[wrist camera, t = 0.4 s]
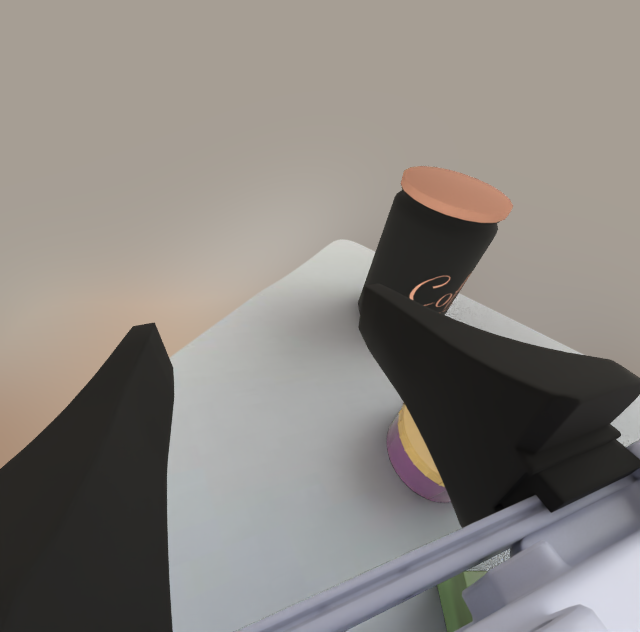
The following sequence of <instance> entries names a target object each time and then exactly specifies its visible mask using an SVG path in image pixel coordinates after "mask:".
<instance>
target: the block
mask: <svg viewBox="0 0 640 632" xmlns="http://www.w3.org/2000/svg"><path fill="white" fill-rule="evenodd" d="M487 572H488V571H464V572H462V573H460V574H458V575H456V576H454V577H452V578H450V579H448V580H446V581H444V582H442V583H440V584H438V585H437V587H438V591H439V596H440V600H441V605H442V609H443V614H444V619H445V623H446V628H447V632H454V631H456V630H458V629H459V628H461V627H463V626H465V625H467V624H468V623H470V622H472V621H473V618H472V614H471V612H470V610H469V608H468V607H467V605H466V603H465V601H464V599H463V597H462V591H463V590H465V589H466V588H468V587H469V586H471V585H472V584H473V583H475V582H476V581H478V580H479V579H480V578H482V577H483V576H484V575H485V574H486V573H487Z"/></svg>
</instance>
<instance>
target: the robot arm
mask: <svg viewBox="0 0 640 632" xmlns="http://www.w3.org/2000/svg"><path fill="white" fill-rule="evenodd" d="M359 330H360V332H361V334H362V337H363V339H364V341H365V343H366V345H367V347H368V349H369V350H370V352H371V354H372V355H373V357H374V358H375V360H376V361H377V363H378V364H379V366H380V367H381V369H382V370H383V372H384V373H385V374H386V376H387V377H388V379H389V380H390V382H391V383H392V385H393V386H394V388H395V389H396V391H397V392H398V394H399V395H400V397H401V399H402V400H403V402H404V403H405V405H406V407H407V409H408V411H409V413H410V415H411V417H412V418H413V420H414V422H415V424H416V426H417V428H418V430H419V432H420V434H421V436H422V438H423V440H424V442H425V444H426V446H427V448H428V450H429V452H430V455H431V457H432V459H433V461H434V463H435V466H436V468H437V470H438V472H439V474H440V476H441V479H442V481H443V483H444V486H445V488H446V491H447V493H448V495H449V498H450V500H451V503H452V505H453V507H454V510H455V513H456V515H457V518H458V520H459V523H460V525H461V526H462V528H461V529H459V530H457V531H455V532H452V533H450V534H448V535H446V536H444V537H441V538H439V539H437V540H435V541H433V542H430V543H428V544H426V545H424V546H422V547H419V548H417V549H415V550H413V551H411V552H408V553H406V554H404V555H402V556H400V557H397V558H395V559H393V560H391V561H389V562H386V563H384V564H382V565H380V566H377V567H375V568H373V569H371V570H369V571H366V572H364V573H362V574H360V575H358V576H355V577H353V578H351V579H349V580H347V581H344V582H342V583H340V584H338V585H336V586H333V587H331V588H329V589H327V590H325V591H322V592H320V593H318V594H316V595H314V596H311V597H309V598H307V599H305V600H303V601H300V602H298V603H296V604H294V605H292V606H289V607H287V608H285V609H283V610H280V611H278V612H276V613H274V614H272V615H269V616H267V617H265V618H263V619H261V620H258V621H256V622H254V623H252V624H250V625H247V626H245V627H243V628H241V629H239V630H236V631H234V632H344V631H346V630H348V629H350V628H352V627H354V626H356V625H358V624H360V623H362V622H364V621H366V620H368V619H370V618H372V617H374V616H376V615H378V614H380V613H382V612H384V611H386V610H388V609H390V608H392V607H394V606H396V605H398V604H400V603H402V602H404V601H406V600H408V599H410V598H412V597H414V596H416V595H418V594H420V593H422V592H424V591H426V590H428V589H430V588H432V587H434V586H436V585H438V584H440V583H442V582H444V581H446V580H448V579H450V578H452V577H454V576H456V575H458V574H460V573H462V572H464V571H466V570H468V569H470V568H472V567H474V566H476V565H478V564H480V563H482V562H484V561H486V560H488V559H490V558H492V557H494V556H496V555H498V554H500V553H502V552H504V551H506V550H508V549H510V548H511V549H510V557H511V558H509V559H508V560H506V561H504V562H502V563H501V564H499V565H497V566H495V567H494V568H492V569H490V570H489V571H488V572H487V573H486V574H485V575H484V576H483V577H482V578H480V579H479V580H478V581H476V582H475V583H473V584H472V585H471V586H469V587H468V588H466V589H465V590H463V591H462V597H463V599H464V601H465V603H466V605H467V607H468V608H469V610H470V612H471V614H472V618H473V621H472V622H470V623H468V624H467V625H465V626H463V627H461V628H459V629H458V630H456V631H454V632H640V440H638V441H636V442H634V443H632V444H631V445H629V446H628V447H624V446H623V445H622V444H621V443H620V442H618V441H617V440H616V439H617V438H619V437H620V436H621V433H620V432H619V431H618V430H617V429H616V428H614V427H613V426H612V425H611V424H610V423H611V422H612V421H613V420H614V419H615V418H616V417H618V416H619V415H620V414H621V413H622V412H623V411H624V410H625V409H626V408H627V407H628V406H629V405H630V404H631V403H632V402H633V401H634V400H635V399H636V398H637V397H638V396H639V394H640V378H639V377H638V376H636V375H635V374H633V373H631V372H630V371H629V370H627V369H626V368H624V367H622V366H621V365H619V364H618V363H616V362H614V361H612V360H609V359H603V358H597V357H591V356H585V355H579V354H573V353H567V352H562V351H558V350H553V349H548V348H544V347H539V346H535V345H531V344H527V343H523V342H519V341H516V340H512V339H509V338H505V337H502V336H499V335H495V334H492V333H489V332H486V331H483V330H481V329H478V328H475V327H472V326H470V325H467V324H464V323H462V322H459V321H457V320H454V319H452V318H450V317H448V316H445V315H443V314H441V313H438V312H436V311H434V310H432V309H430V308H428V307H426V306H424V305H422V304H420V303H418V302H416V301H414V300H412V299H410V298H408V297H406V296H404V295H402V294H400V293H398V292H396V291H394V290H392V289H390V288H388V287H386V286H383V285H381V284H373V285H367V286H364V288H363V296H362V305H361V313H360V321H359ZM173 404H174V376H173V366H172V364H171V361H170V359H169V357H168V354H167V352H166V349H165V347H164V344H163V342H162V339H161V337H160V335H159V332H158V330H157V327H156V325H155V323H149V324H144V325H138V326H133V327H132V328H131V330H130V331H129V332H128V333H127V335H126V336H125V337H124V338H123V340H122V341H121V342H120V344H119V345H118V346H117V347H116V349H115V350H114V351H113V353H112V354H111V355H110V357H109V358H108V359H107V360H106V362H105V363H104V364H103V365H102V367H101V368H100V369H99V371H98V372H97V373H96V374H95V375H94V377H93V378H92V379H91V380H90V381H89V382H88V384H87V385H86V386H85V387H84V388H83V389H82V390H81V391H80V393H79V394H78V395H77V396H76V397H75V398H74V399H73V400H72V402H71V403H70V404H69V405H68V406H67V407H66V408H65V409H64V410H63V411H62V412H61V413H60V414H59V415H58V416H57V417H56V418H55V419H54V421H52V422H51V423H50V424H49V425H48V426H47V427H46V428H45V429H44V430H43V431H42V432H41V433H40V434H39V435H38V436H37V437H36V438H35V439H34V440H33V441H32V442H31V443H29V444H28V445H27V446H26V447H25V448H24V449H23V450H22V451H21V452H19V453H18V454H17V455H16V456H15V457H14V458H12V459H11V460H10V461H9V462H8V463H7V464H6V465H4V466H3V467H2V468H1V469H0V632H173V631H172V616H171V600H170V584H169V561H168V532H167V463H168V453H169V443H170V433H171V424H172V414H173Z"/></svg>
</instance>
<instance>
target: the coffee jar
mask: <svg viewBox="0 0 640 632" xmlns="http://www.w3.org/2000/svg"><path fill="white" fill-rule="evenodd" d="M401 186H402V191H400V192H399V193H397V195H396V196H395V198H394V201H393V204H392V207H391V210H390V213H389V215H388V218H387V221H386V224H385V227H384V230H383V233H382V235H381V238H380V241H379V244H378V247H377V250H376V253H375V255H374V258H373V261H372V264H371V267H370V270H369V273H368V275H367V278H366V281H365V284H364V286H367V285H373V284H381V285H383V286H386V287H388V288H390V289H392V290H394V291H396V292H398V293H400V294H402V295H404V296H406V297H408V298H410V299H412V300H414V301H416V302H418V303H420V304H422V305H424V306H426V307H428V308H430V309H432V310H434V311H436V312H438V313H441V314H443V315H445V313H446V312H447V310H448V309H449V307H450V305H451V304H452V302H453V301H454V299H455V298H456V296H457V295H458V293H459V291H460V290H461V288H462V287H463V285H464V284H465V282H466V281H467V279H468V277H469V276H470V274H471V273H472V271H473V270H474V268H475V267H476V265H477V263H478V262H479V260H480V259H481V257H482V256H483V254H484V253H485V251H486V249H487V248H488V246H489V245H490V243H491V242H492V240H493V238H494V237H495V235H496V233H497V230H498V226H497V223H498V222H500V221H502V220H504V219H505V218H506V217H507V216H508V215H509V213H510V212H511V210H512V208H513V205H512V203H511V201H510V199H509V198H507V197H506V196H505V195H504V194H503V193H502V192H500V191H499V190H497V189H495V188H494V187H492V186H491V185H489V184H487V183H484V182H482V181H480V180H478V179H476V178H473V177H470V176H468V175H465V174H462V173H458V172H455V171H451V170H447V169H442V168H437V167H427V166H418V167H410V168H408V169H406V170H405V171H404V173H403V177H402V181H401ZM363 288H364V287H363ZM362 296H363V290H362V293H361V296H360V299H359V302H358V306H359V312H360V313H361V305H362Z"/></svg>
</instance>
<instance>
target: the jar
mask: <svg viewBox="0 0 640 632" xmlns="http://www.w3.org/2000/svg"><path fill="white" fill-rule="evenodd" d="M398 418H399V413H398V415H397V416H396V418H395V419H394V420H393V422H392V423H391V425H390V427H389V430H388V433H387V450H388V455H389V458H390V461H391V463H392V466H393V467H394V469H395V471H396V473H397V474H398V476H399V477H400V478H401V479H402V481H403V482H404V483H405V484H406V485H407V486H408V487H409V488H410V489H412V490H413V491H414V492H415V493H417V494H419V495H420V496H422V497H424V498H426V499H429V500H432V501H435V502H443V503H447V502H451V500H450V498H449V495H448V493H447V491H446V488H445V487H443V486H441V485H440V486H439V484H437V483H435V482H434V481H432V480H431V479H429V478H428V477H427V476H425V475H424V474H423V473H422V472H421V471H420V470H419V469H418V468H417V467H416V466H415V464H413V462H412V460H411V459H410V458H409V456H408V454H407V453H406V451H404V450H405V449H404V447H403V445H402V442H401V439H400V438H399V436H400V435H399V430H398V425H397V423H398Z"/></svg>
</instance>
